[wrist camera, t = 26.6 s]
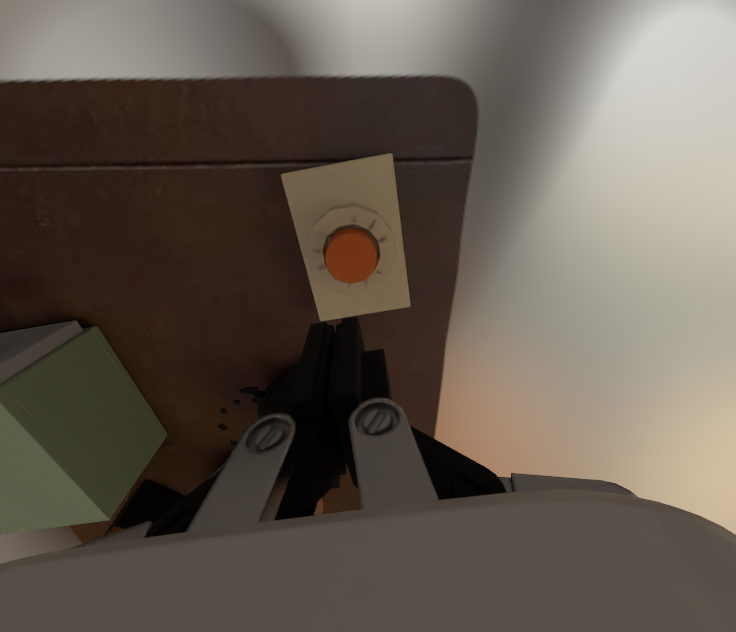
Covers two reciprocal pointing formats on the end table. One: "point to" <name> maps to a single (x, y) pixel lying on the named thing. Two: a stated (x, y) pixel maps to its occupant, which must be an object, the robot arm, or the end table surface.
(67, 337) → the drawer
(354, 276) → the button
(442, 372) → the end table surface
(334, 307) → the panel
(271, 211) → the end table surface
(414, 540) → the robot arm
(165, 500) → the battery
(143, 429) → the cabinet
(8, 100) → the end table surface
